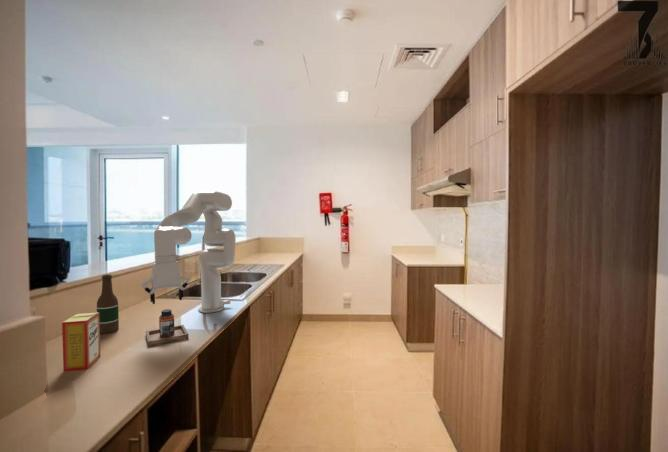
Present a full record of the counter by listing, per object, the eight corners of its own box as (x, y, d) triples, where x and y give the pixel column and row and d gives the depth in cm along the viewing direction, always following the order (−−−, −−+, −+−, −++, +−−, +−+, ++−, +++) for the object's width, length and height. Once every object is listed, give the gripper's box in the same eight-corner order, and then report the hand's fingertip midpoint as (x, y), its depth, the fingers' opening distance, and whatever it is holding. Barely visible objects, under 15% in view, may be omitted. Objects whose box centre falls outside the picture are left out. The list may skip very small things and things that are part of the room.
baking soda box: (87, 368, 103) (86, 319, 102) (63, 371, 101) (62, 321, 100) (100, 356, 112) (99, 311, 111) (78, 358, 110) (77, 312, 110)
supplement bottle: (163, 333, 132) (162, 308, 131) (176, 332, 132) (176, 308, 132) (157, 338, 126) (156, 312, 126) (171, 337, 127) (170, 312, 126)
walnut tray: (183, 329, 138) (183, 324, 138) (188, 338, 128) (188, 333, 128) (145, 335, 131) (145, 331, 131) (148, 346, 120) (148, 341, 120)
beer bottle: (123, 329, 138) (121, 274, 137) (103, 335, 131) (102, 277, 130) (112, 326, 142) (110, 272, 141) (92, 332, 134) (91, 275, 134)
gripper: (187, 256, 136) (188, 295, 137) (140, 260, 127) (141, 302, 128) (190, 258, 130) (192, 300, 131) (141, 262, 120) (142, 307, 121)
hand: (167, 301), depth 129 cm, fingers open, 9 cm apart
